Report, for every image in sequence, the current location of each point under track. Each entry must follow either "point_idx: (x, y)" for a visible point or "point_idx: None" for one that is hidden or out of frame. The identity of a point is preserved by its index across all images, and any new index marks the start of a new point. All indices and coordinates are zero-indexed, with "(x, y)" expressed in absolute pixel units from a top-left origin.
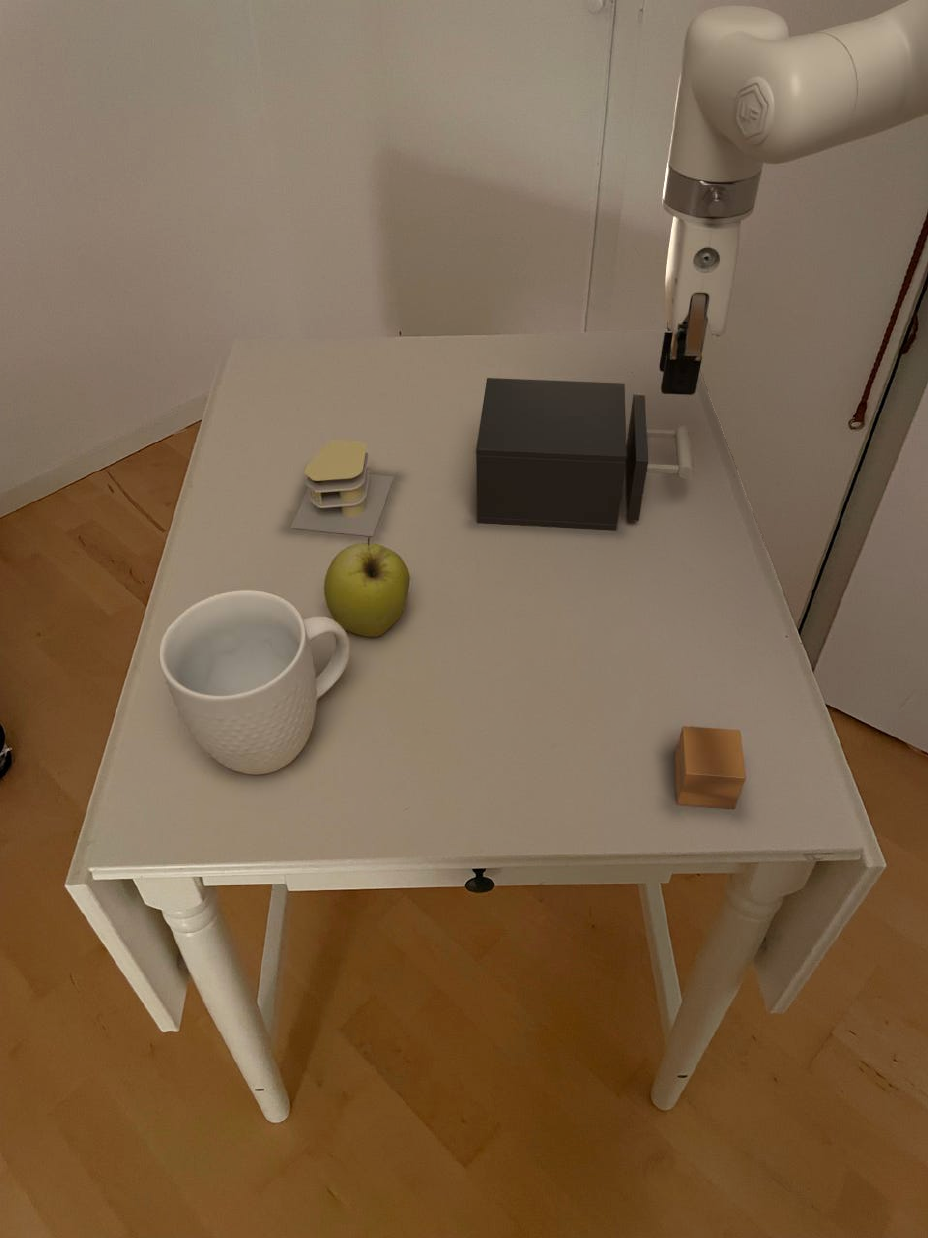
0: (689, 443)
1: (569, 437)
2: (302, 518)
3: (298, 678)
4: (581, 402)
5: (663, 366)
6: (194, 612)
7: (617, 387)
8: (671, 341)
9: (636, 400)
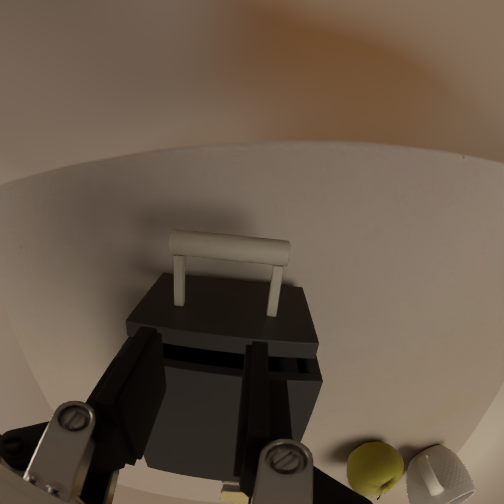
0: (216, 240)
1: None
2: None
3: (469, 483)
4: (178, 414)
5: (163, 396)
6: None
7: None
8: (140, 444)
9: None
